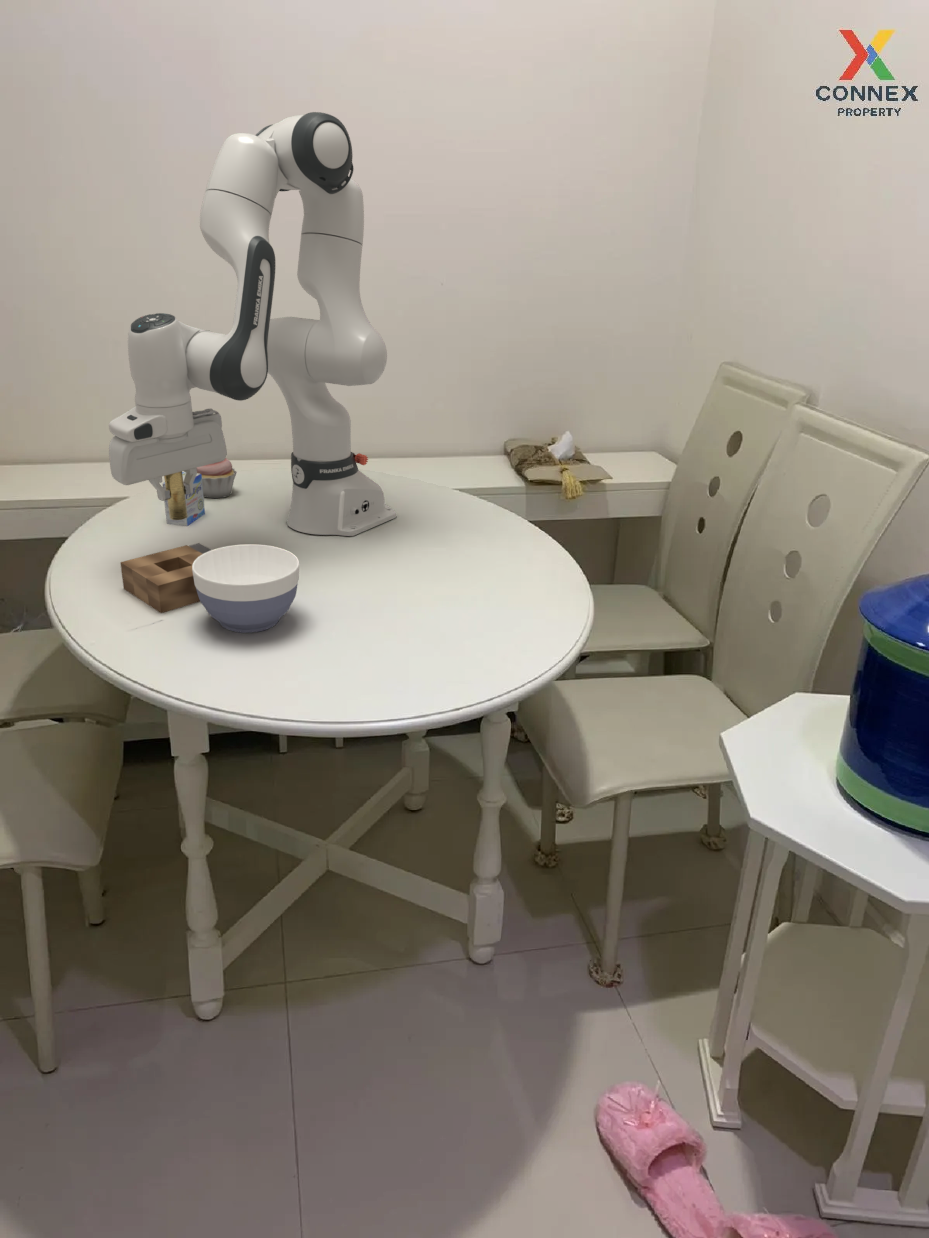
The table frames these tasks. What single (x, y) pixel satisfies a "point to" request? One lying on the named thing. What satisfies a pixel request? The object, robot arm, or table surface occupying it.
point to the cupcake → (217, 479)
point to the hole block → (162, 578)
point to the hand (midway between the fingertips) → (175, 496)
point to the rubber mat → (200, 548)
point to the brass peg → (176, 496)
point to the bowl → (246, 585)
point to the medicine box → (190, 503)
